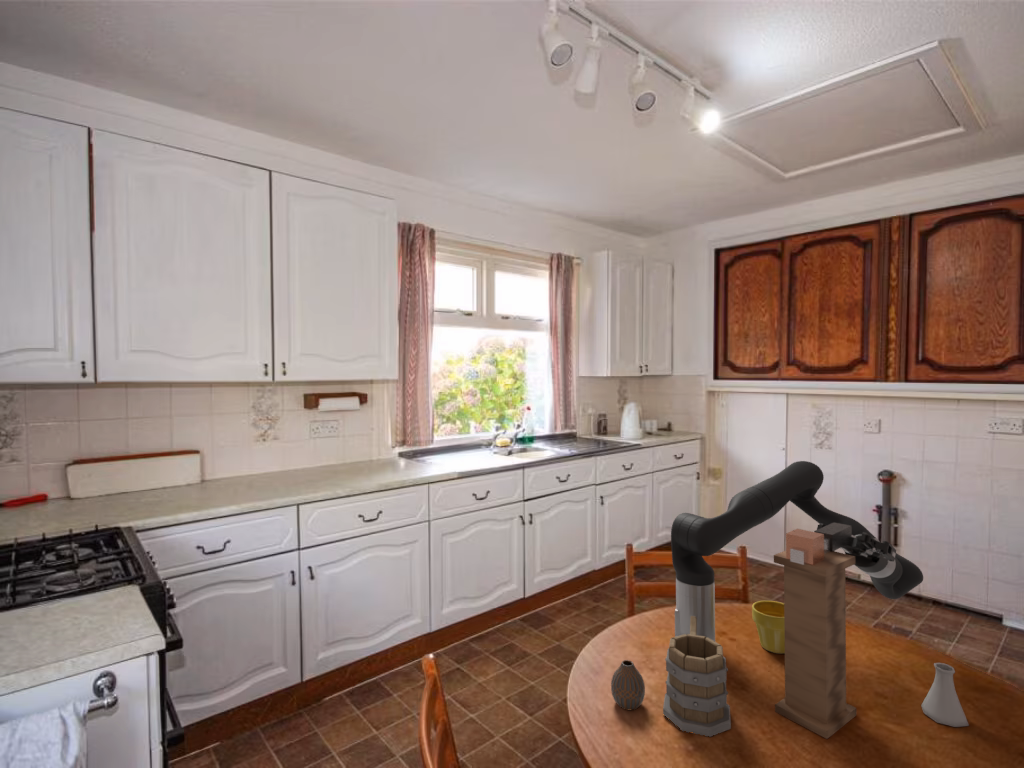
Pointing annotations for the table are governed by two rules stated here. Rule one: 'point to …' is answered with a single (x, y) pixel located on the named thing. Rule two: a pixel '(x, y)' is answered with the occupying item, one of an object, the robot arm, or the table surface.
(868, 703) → the table surface
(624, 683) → the vase
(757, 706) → the table surface
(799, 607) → the walnut stand
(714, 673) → the tankard
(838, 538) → the orange and black bar
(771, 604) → the plant pot
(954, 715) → the flask
